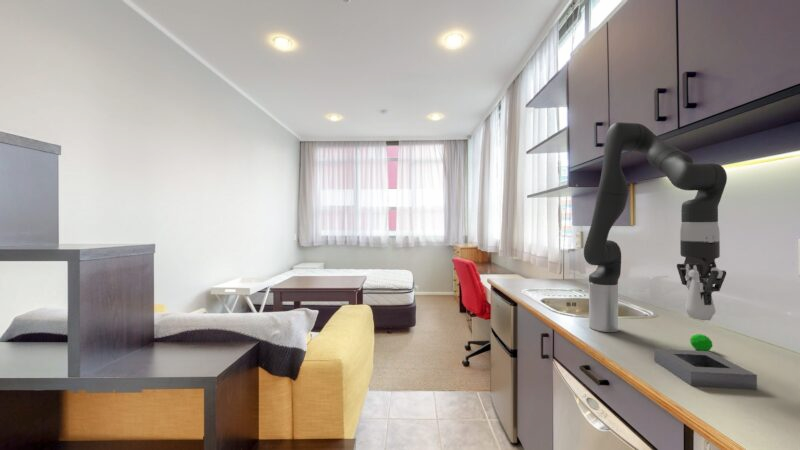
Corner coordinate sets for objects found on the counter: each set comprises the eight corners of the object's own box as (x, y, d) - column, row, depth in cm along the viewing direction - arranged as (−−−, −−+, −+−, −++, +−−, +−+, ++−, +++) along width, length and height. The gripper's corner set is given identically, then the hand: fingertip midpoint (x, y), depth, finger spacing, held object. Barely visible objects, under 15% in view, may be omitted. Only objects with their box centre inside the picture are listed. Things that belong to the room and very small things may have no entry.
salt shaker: (712, 323, 79) (712, 271, 79) (682, 317, 84) (682, 268, 84) (717, 318, 83) (717, 269, 83) (688, 313, 87) (688, 266, 87)
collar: (654, 360, 92) (654, 348, 91) (709, 363, 89) (709, 351, 89) (690, 385, 78) (690, 371, 78) (756, 389, 76) (756, 374, 76)
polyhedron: (686, 348, 100) (686, 333, 100) (697, 346, 102) (697, 331, 101) (704, 354, 95) (704, 338, 95) (716, 352, 97) (716, 337, 97)
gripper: (665, 238, 91) (665, 298, 91) (704, 241, 77) (705, 311, 77) (694, 237, 90) (695, 298, 90) (740, 240, 76) (740, 312, 76)
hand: (699, 304), depth 83 cm, fingers closed on salt shaker, 3 cm apart
